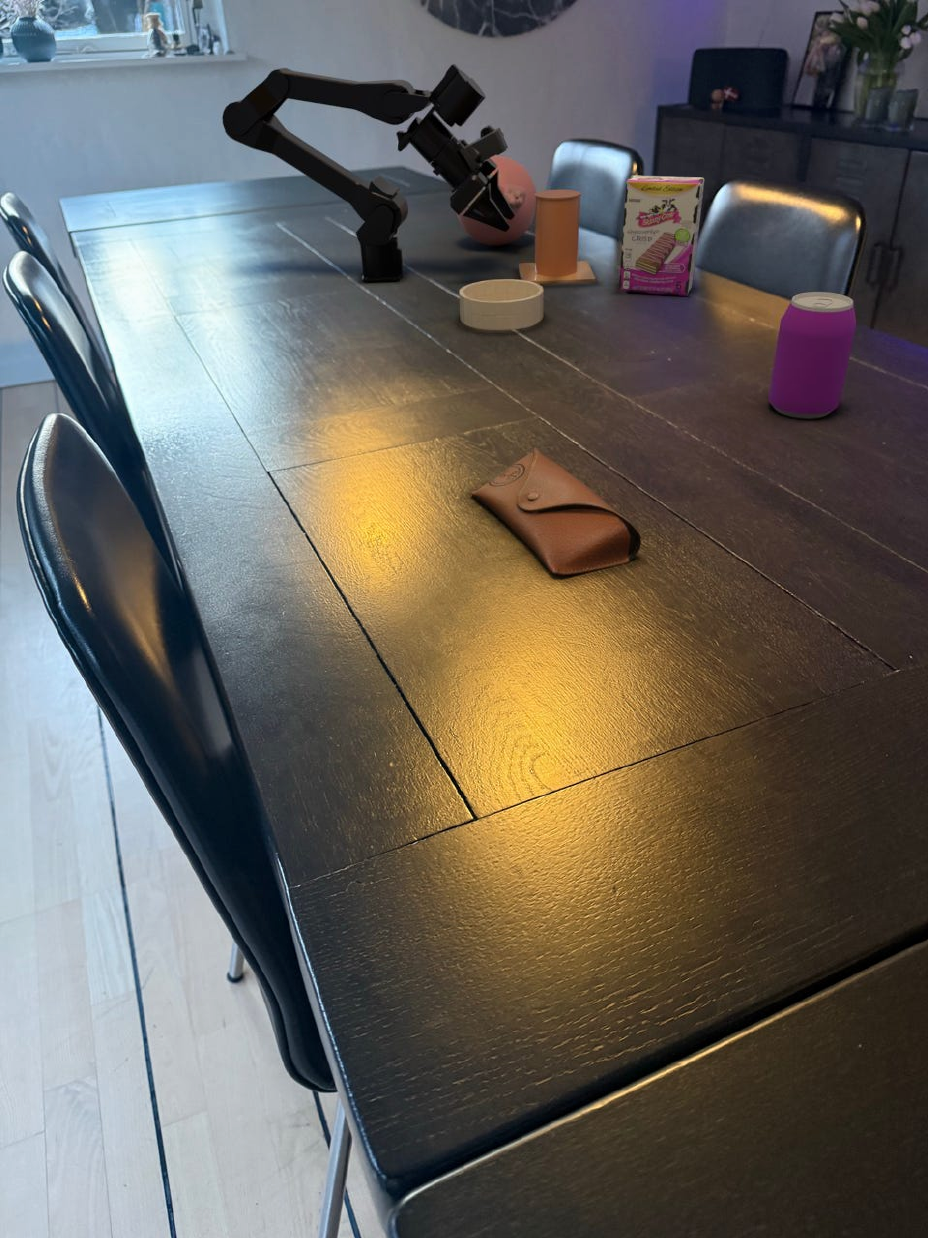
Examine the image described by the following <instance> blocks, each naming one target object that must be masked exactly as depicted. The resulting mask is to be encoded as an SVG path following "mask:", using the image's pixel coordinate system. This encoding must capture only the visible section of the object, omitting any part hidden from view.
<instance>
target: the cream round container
mask: <svg viewBox="0 0 928 1238" xmlns="http://www.w3.org/2000/svg"><path fill="white" fill-rule="evenodd" d="M544 292H545V291H544V287H543V286H542V285H540V284H537V283H533V282H530V281H524V280H521V279H513V278H511V279H510V278H502V279H501V278H499V279H487V280H481V281H476V282H472V283H469V284H467V285H464V286H463V287H461V288H460V289H459V316H460V321H461V323H462V324H463V325H465V326H468V327H470V328H473V329H477V330H478V329H479V330H483V331H484V330H485V331H513V330H519V329H525V328H529V327H532V326H534V325H537V324H538V323H540V322H542V320H543V319H544V305H545V304H544V301H545V299H544V298H545V297H544V296H545V293H544Z"/></svg>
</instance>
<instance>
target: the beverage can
mask: <svg viewBox="0 0 928 1238" xmlns="http://www.w3.org/2000/svg"><path fill="white" fill-rule="evenodd" d="M856 318H857V317H856V313H855V306H854V299H852V298H851V297H849V296H847V295H843V294H839V293H835V292H826V291H824V292H823V291H811V292H802V293H797V294H795V295H793V296H792V298H791V301H790V302H789V304H788V306H787V307H786V309H785V311H784V313H783V315H782V317H781V319H780V323H779V330H778V335H777V343H776V347H775V348H776V349H775V355H774V360H773V367H772V373H771V380H770V384H769V390H768V402H769V403H770V405H771V406H772V407H773V408H774V410H775V411H777V412H778V413H780V414H782V415H785V416H788V417H792V418H797V419H819V418H822V417H825V416H828V415H829V414H830V413H832V412H834V411H835V410H836V409H838V408H839V405H840V402H841V398H842V392H843V387H844V384H845V378H846V374H847V369H848V366H849V365H848V364H849V360H850V354H851V350H852V345H853V341H854V336H855V331H856V327H857V319H856Z"/></svg>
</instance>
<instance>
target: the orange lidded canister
mask: <svg viewBox="0 0 928 1238" xmlns="http://www.w3.org/2000/svg"><path fill="white" fill-rule="evenodd" d="M581 194H582V193H581V192H580V191H578V190H575V189H574V190H573V189H545V190H541V191H538V192H537V191H536V194H535V216H534V263H535V272H536V273H537V274H540V275H544V276H566V275H571V274H574V273H576V272H577V270H578V261H579V238H580V237H579V236H580V210H581V208H580V207H581V206H580V205H581V204H580V203H581V196H582V195H581Z"/></svg>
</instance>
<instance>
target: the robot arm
mask: <svg viewBox="0 0 928 1238" xmlns="http://www.w3.org/2000/svg"><path fill="white" fill-rule="evenodd" d="M486 97H487V96H486V94H485V92H484V91H483V89H482V88H481V87H480V85H479V84H478V83H477V82H476V81H475V80H474V78H472V77H469V75H468V74H467V73H465V72H464V71H463V70H462V69H460V68H459V67H458V66H457V64H455V63H453V64H451V65H450V66H449V67H448V69H447V70H446V71H445V74H444V76H443V77H442V78H441V79H440V81H439V82H438V84H437V85H436V86H435V88H433V90H431V91H430V90H429V89H426V90H425V89H417V88H414V87H413V85H412V83H410V82H409V81H407V80H404V79H383V80H368V81H357V80H353V79H347V78H346V79H344V78H339V77H334V76H333V77H332V76H326V75H321V74H316V73H315V74H314V73H308V72H303V71H298V70H293V69H290V68H288V67H281V68H279V67H278V68H276V69H273V70H271V71H270V72H269V73H268V75H267V77H266V78H265V79H264V80H263V81H262V82H261V83H259V84H258V85H257V86H256V87H255V88H253V89H252V90H251V91H250V92H249V93H248V94H247V95H245V96H244V97H243V98H242V99H240V100H236V101H233V102H230V103H229V104H228V105H226V107H225V108H224V110H223V112H222V118H221V120H222V125H223V129H224V133H226V135H227V137H229V138H230V139H231V140H232V141H234V142H237V143H239V144H241V145H243V146H246V147H248V148H251V149H253V150H256V151H260V152H264V153H267V154H271V155H274V156H275V157H277V159H280V160H281V161H283V162H284V163H286V164H287V165H289V166H290V167H292V168H293V169H295V170H297V171H299V172H300V173H301V174H303V175H304V176H306V177H308V178H309V179H310V180H312V181H314V182H315V183H316V184H319V185H320V186H321V187H323V188H325V189H326V190H328V191H329V192H331V193H332V194H334V195H336V196H337V197H338V198H340V199H342V200H343V201H345V202H346V203H348V204H349V206H350V207H351V208H352V209H353V211H354V212H355V213H356V214H357V215H358V216H359V218H360V219H361V220H362V221H364V222H363V223H362V225H361V226H360V227H358V229H357V230H356V232H355V236H356V238H357V241H358V243H359V247H360V248H359V249H360V257H361V266H362V267H361V268H362V277H361V282H362V283H368V282H369V283H373V282H375V283H376V282H396V281H400V280H401V276H402V275H403V274H404V261H403V260H404V259H403V247H402V246H401V245H399V237H398V236H396V235H397V234H398V230H399V228H400V227H401V226H402V224H403V223H404V222H405V221H406V220H407V218H408V214H409V206H408V203H407V199H406V198H405V196H404V195H403V194H402V193H401V192H399V191H400V190H401V188H400V187H398V186H394V185H392V184H390V183H389V182H388V181H387V180H386V179H384V177H382V176H381V175H376V177H374V179H372V180H371V181H370V180H366V179H363V178H361V177H359V176H358V175H356V174H355V173H353V172H352V171H350V170H349V169H347V168H346V167H344V166H342V165H341V164H339V163H338V162H337V161H335V160H333V159H332V158H330V157H329V156H327V155H326V154H324V153H323V152H321V151H319V150H318V149H317V148H315V147H314V146H312V145H310V144H308V143H307V142H306V141H304V140H302V139H301V138H300V137H298V136H296V135H295V134H294V133H292V132H291V131H289V130H288V129H287V128H286V127H285V125H284V124H283V123H282V122H281V120H280V119H279V118H278V117H277V116H276V114H275V113H277V112H278V111H279V110H280V109H281V107H283V105H284V104H285V103H286V101H287V100H288V99H289V100H294V101H300V102H306V103H312V104H319V105H323V106H324V105H325V106H331V107H337V108H343V109H349V110H354V111H357V112H358V113H359V112H360V113H362V114H364V115H366V116H367V117H370V118H372V119H374V120H377V121H380V122H382V123H386V124H388V125H391V126H398V125H402V124H403V123H405V122H406V121H408V120H410V119H411V118H412V117H413V116H414V115H415V113H419V112H422V111H424V110H425V109H427V108H428V107H430V106H431V105H433V106H432V107H431V109H430V110H429V111H428V112H427V113H426V115H425V116H424V117H423V118H421V117H418V116H416V117H414V119H413V120H412V121H411V122H410V124H409V125H408V126H407V128H406V129H405V130H398V131H396V138H397V151H398V152H403V151H404V150H405V149H406V148H407V147H408V146H409V144H410V145H411V146H412V147H413V148H414V149H415V151H417V153H418V154H419V155H420V156H421V157H422V158H423V159H424V160H425V161H426V162H427V163H428V164H429V165H430V166H431V167H432V169H433V170H432V173H433V174H434V175H435V176H436V177H438V176H440V177H441V179H443V180H444V181H445V182H446V183H447V184H448V185H449V186H450V188H451V190H450V192H451V193H452V194H451V195H450V197H449V205H450V208H451V209H452V210H453V211H454V212H455V213H456V215H457V214H458V215H460V214H461V212H462V211H463V210H464V209H465V208H466V207H468V208H467V209H466V211H465V212H464V213H463V216H464V217H465V216H466V217H469V218H471V219H474V220H477V221H479V222H482V223H484V224H487V225H489V226H492V227H494V228H496V229H499V230H501V231H504V232H507V231H508V230H509V228H510V226H509V224H508V223H507V221H506V219H505V218H507V219H509V220H512V219H513V218H514V217H515V214H514V212H513V210H512V209H511V207H510V205H509V203H508V202H507V200H506V198H505V196H504V194H503V193H502V191H501V189H500V187H499V184H498V179H499V170H497V171H496V173H495V174H494V175H493V176H491V175H490V174H491V173H492V172H493V171H494V170H495V169H496V168H497V165H496V164H495V163H494V162H493V161H492V159H491V157H492V156H500V155H501V154H503V153H505V152H506V151H507V149H508V144H507V142H506V139H505V137H504V136H505V135H504V132H502V129H501V127H497V128H496V129H495V128H494V127H493V126H492V125H491V124H488V125H486V126H485V127H483V128H481V130H480V137H479V138H477V139H476V140H474V141H471V142H470V143H468V141H466V140H465V139H464V138H462V139H461V138H460V139H458V138H457V137H456V136H455V134H454V133H453V132H452V131H451V130H450V129H449V128H453V127H454V126H455V125H456V126H458V127H461V128H462V127H463V126H464V124H465V123H466V122H467V121H468V120H469V119H470V117H471V116H472V115H473V114H474V113H475V111H476V110H477V109H478V107H479V106H480V105H481V104H482V103H483V102H484V100H485V99H486ZM435 113H436V114H437V115H436V114H435ZM440 119H441V120H440ZM442 121H443V122H444V123H445V124H446V125H447V126H449V128H448V127H447V126H446V125H445V124H444V123H443V122H442ZM504 217H505V218H504Z"/></svg>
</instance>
